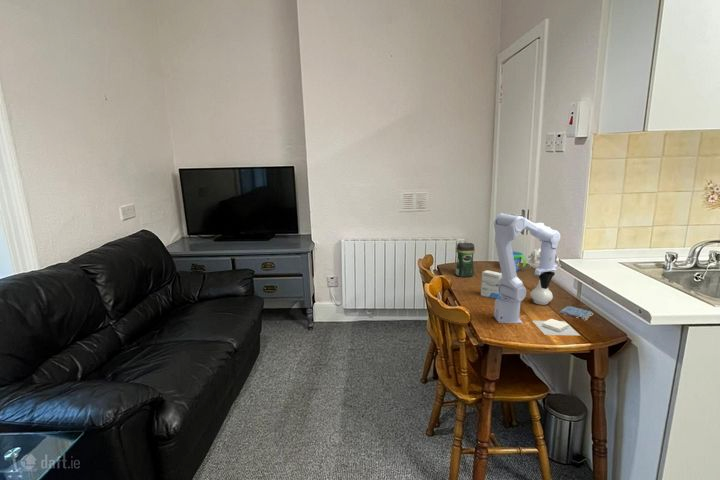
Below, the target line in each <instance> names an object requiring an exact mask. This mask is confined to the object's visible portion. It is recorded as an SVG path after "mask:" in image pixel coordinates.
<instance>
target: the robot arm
mask: <svg viewBox="0 0 720 480" xmlns="http://www.w3.org/2000/svg"><path fill="white" fill-rule="evenodd" d="M493 226H494V227H493V228H494V233H495V235H494V242H495V247H496V252H497V258H498V261H499V267H500V271H501V272H500V273H502V278H501V279H500V280H499V281H498V284H499V286H498V292H499V294H500V295H501V296H500V298H499V299H495V301H494V311H493V317H494V318H495V320H496V321H497V323H499V324H500V323H501V324H506V323H509V324H523V323H524V322H523V321H522V320H521V318H520V313H521V302H522V301H523V300H525V298H526V296H527V288H526V287H525V286H524V283H523V281H522V280H521V279H520V278H519V277H518V275H517V271H516V268H515V263H514V257H513V252H512V251H513V248H512V241H513V240H515V239H516V238H518V236H519V235H520V234H521V232H522V231H523V230H527V231H529V233H530V235H531V236H532V237H535V238H536V239H538V241H539V242H541V243H540V248H541V253H540V263H538V265H539V266H538V267H537V268H536V269H535V271H534V275H535V276H536V275H537V276H538V277H539V279H540V283H541V288H544V289H547V288H548V289H549V286H550V283H551V280H552V279H553V278H554V276H555V273H556V271H557V270H558V264H556V263H555V254H556V255H557V252H556V251H557V248H558V246H559V242H560V240H561V238H562V237H561V233H560V232H559V231H558V230H557V229H552V228H551V226H546V225H545V223H543V222H540V221H539V222H535V223H534V222H532V221H530V220H529V219H528V218H526V217H524V216H522V215H513V214H508V213H507V214H506V213H499V214H497V216H496V217H495V219H494V221H493ZM539 279H538V280H539Z"/></svg>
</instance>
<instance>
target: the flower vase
mask: <svg viewBox="0 0 720 480" xmlns="http://www.w3.org/2000/svg"><path fill="white" fill-rule="evenodd" d="M540 253H541V247H539V248H538V249H537V248H535V249H534V250H533V251H532V252H530V254H529V255H528V257H527V258H528V259H529V260H528V264H530V265H529V267H530V268H531V267H532V266H533V265H534V264H539V263H540ZM554 264H556V265H557V266H559V267H562V265H561V263H560V262H559V256H558V254H557V253H556V254H555V263H554ZM530 298H531V299H532V300H533V303H535V304H537V305H542V306H543V305H544V306H545V305H546V306H547V305H548V304H549V302H551V301H552V300H553V299H554V296H553V293H552V291H551V290H550V289H549V287H548V288H547V289H544V288H541V283H540V279H538V283H537V285H536V287H534V288H533V289H532V291H530Z"/></svg>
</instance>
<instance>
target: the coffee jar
mask: <svg viewBox="0 0 720 480" xmlns="http://www.w3.org/2000/svg"><path fill="white" fill-rule="evenodd" d="M475 251H476V249H475V244H474V243H473V242H459V243H458V242H457V245H456V253H457V259H456V266H455V275H456V276H457V277H460V278H469V277H470V278H471V277H473V276H475V275H474V274H475V273H474V272H475V271H474V255H475V254H474V253H475Z"/></svg>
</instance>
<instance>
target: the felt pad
mask: <svg viewBox="0 0 720 480" xmlns="http://www.w3.org/2000/svg"><path fill="white" fill-rule="evenodd" d="M545 321H546V320H532V322H533V324H535V326H536V327H537V328H538V329H539V330H540V331H541V332H542V334H544V336H578V337H579V336H581V335H580V334H579V333H578V332H577V331H576V330H575V329H574V328H573V327H572V326H571V325H570V324H569V327H568V328H566V329H564V330H562V331H560V332H558V331H555V330H552V329H549V328H546V327H543V326H542V323H543V322H545ZM559 321H560V322H563V323H567V322H566V321H565V320H559Z"/></svg>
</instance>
